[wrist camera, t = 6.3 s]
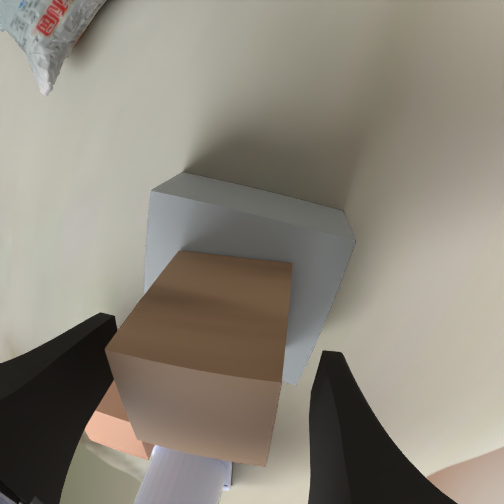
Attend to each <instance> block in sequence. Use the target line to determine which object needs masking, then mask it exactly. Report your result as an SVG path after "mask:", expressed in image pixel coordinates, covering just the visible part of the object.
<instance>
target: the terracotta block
mask: <svg viewBox="0 0 504 504" xmlns="http://www.w3.org/2000/svg"><path fill="white" fill-rule="evenodd" d="M85 431H86V433H87V434H88V436H89V438H90V440H92V441H95V442H97V443H100V444H102V445H105V446H108V447H110V448H113V449H116V450H119V451H122V452H125V453H128V454H131V455H134V456H137V457H140V458H143V459H146V460H149V458H150V456H151V453H152V451H153V448H154V446H155V445H154V444H150V443H147V442H143V441H140V440H137V438H136V436H135V433H134V431H133V429H132V426H131V424H130V421H129V419H128V416H127V413H126V411H125V408H124V406H123V403H122V400H121V397H120V395H119V392H118V389H117V386H116V383H115V380H114V381H113V382H112V384H111V386H110V387H109V389H108V391H107V392H106V394H105V396H104V397H103V399H102V400H101V402H100V404H99V405H98V407H97V409H96V410H95V412H94V414H93V415H92V417H91V419H90V420H89V422H88V424H87V425H86V427H85Z"/></svg>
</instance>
